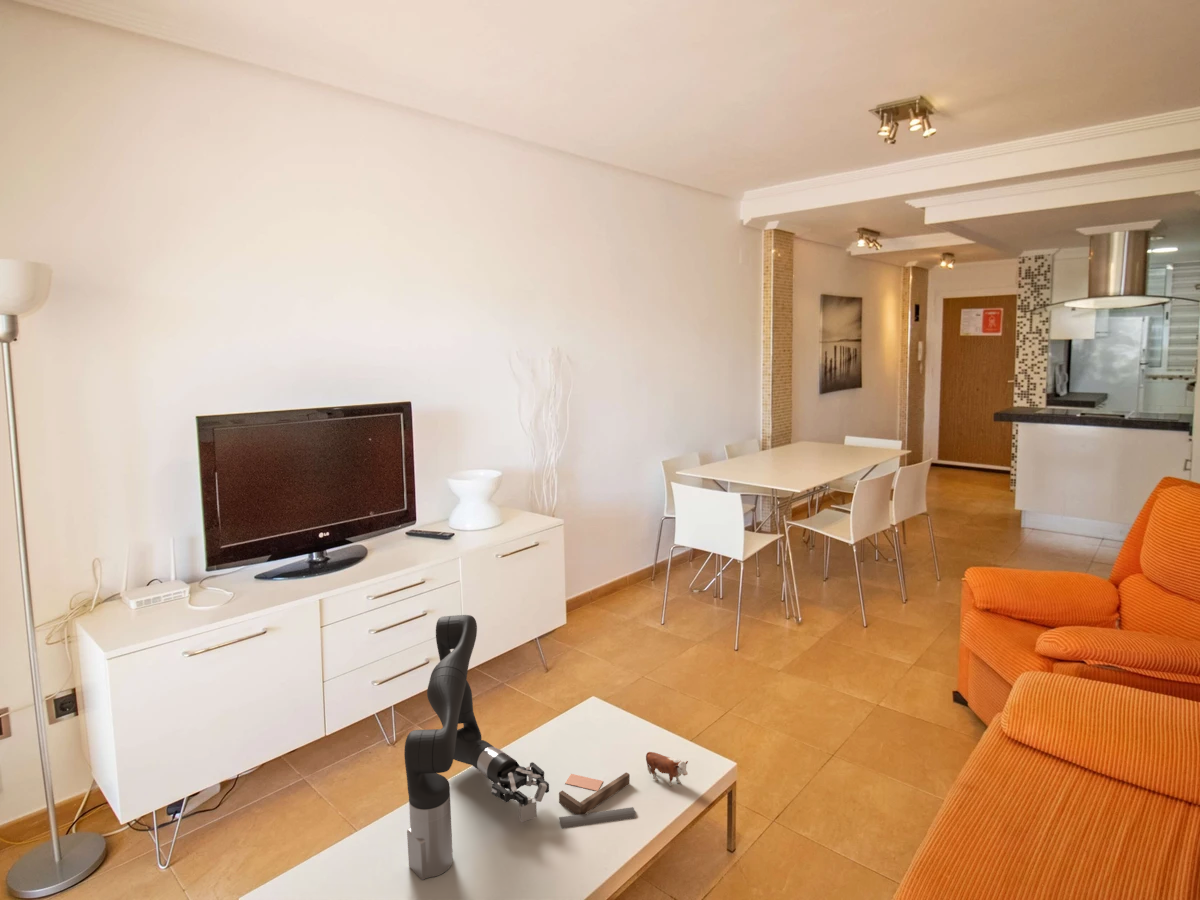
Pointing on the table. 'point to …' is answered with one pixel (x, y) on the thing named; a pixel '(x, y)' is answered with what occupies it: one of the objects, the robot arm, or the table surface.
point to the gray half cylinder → (597, 817)
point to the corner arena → (594, 796)
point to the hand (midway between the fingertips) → (537, 795)
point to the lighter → (532, 804)
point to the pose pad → (584, 782)
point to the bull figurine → (665, 766)
